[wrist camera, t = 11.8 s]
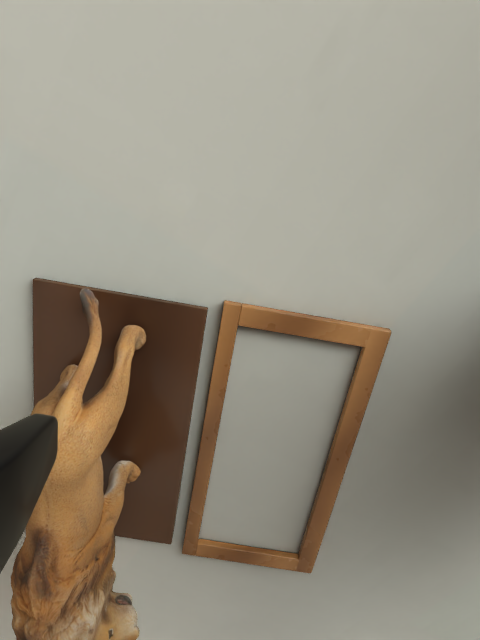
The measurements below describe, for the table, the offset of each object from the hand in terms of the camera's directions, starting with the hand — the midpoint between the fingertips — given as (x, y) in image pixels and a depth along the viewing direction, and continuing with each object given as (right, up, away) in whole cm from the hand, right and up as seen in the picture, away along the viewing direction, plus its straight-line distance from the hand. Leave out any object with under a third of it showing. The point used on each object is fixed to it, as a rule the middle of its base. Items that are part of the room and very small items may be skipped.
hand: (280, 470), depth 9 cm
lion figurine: (-7, -3, +14) cm, 16 cm away
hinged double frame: (-3, -3, +14) cm, 15 cm away
